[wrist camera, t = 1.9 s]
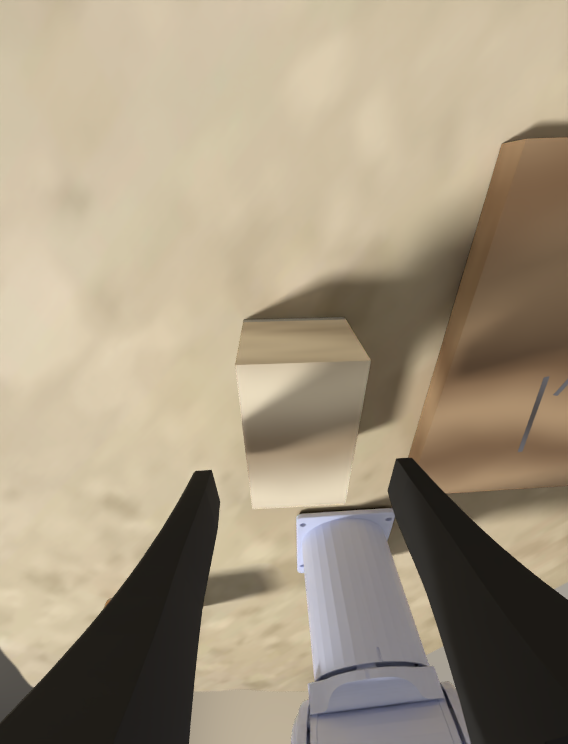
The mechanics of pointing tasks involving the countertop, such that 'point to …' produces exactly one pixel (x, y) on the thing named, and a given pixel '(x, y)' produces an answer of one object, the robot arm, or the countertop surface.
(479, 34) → the countertop surface
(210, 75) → the countertop surface
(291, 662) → the countertop surface
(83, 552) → the countertop surface
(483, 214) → the oak board
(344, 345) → the block
